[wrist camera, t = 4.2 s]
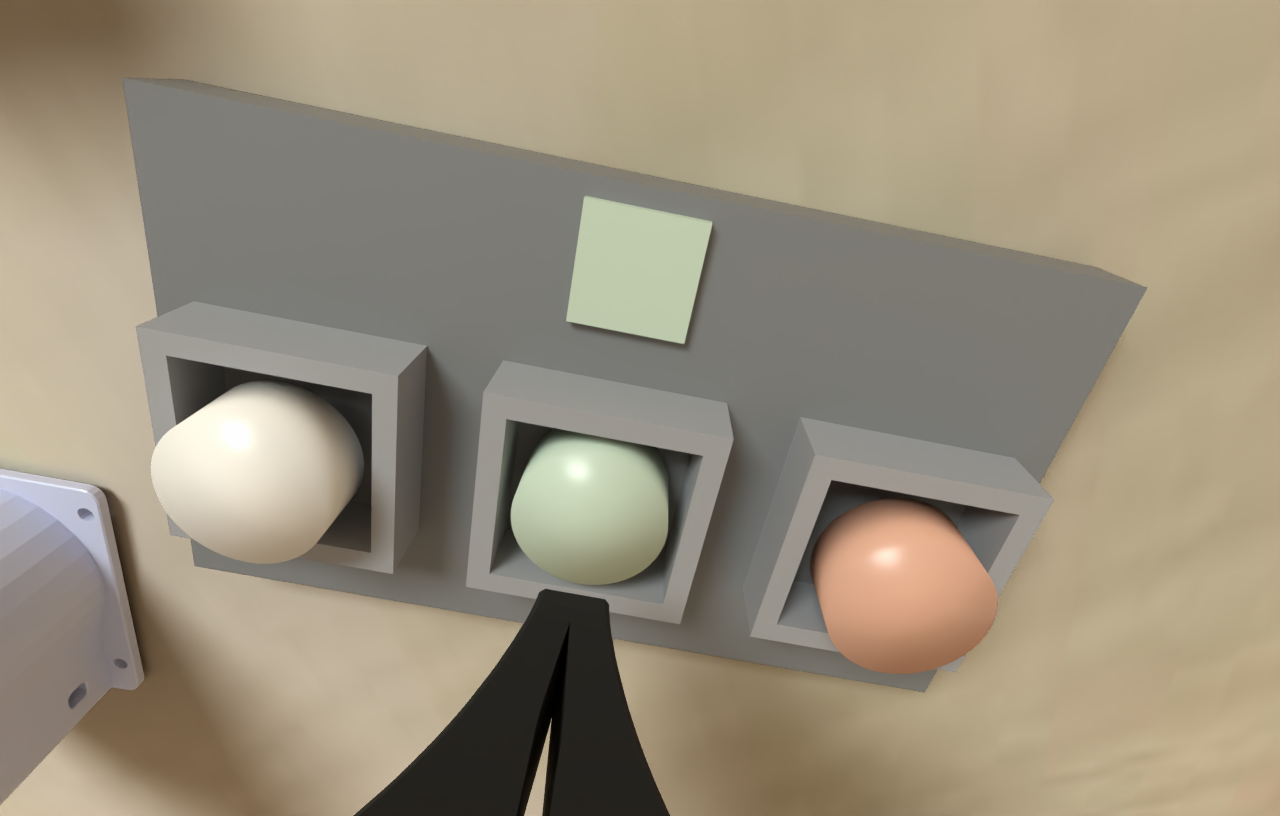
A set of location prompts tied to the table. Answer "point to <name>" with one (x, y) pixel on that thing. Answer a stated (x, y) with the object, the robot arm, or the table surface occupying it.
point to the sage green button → (591, 507)
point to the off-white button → (258, 471)
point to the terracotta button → (901, 587)
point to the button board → (600, 360)
